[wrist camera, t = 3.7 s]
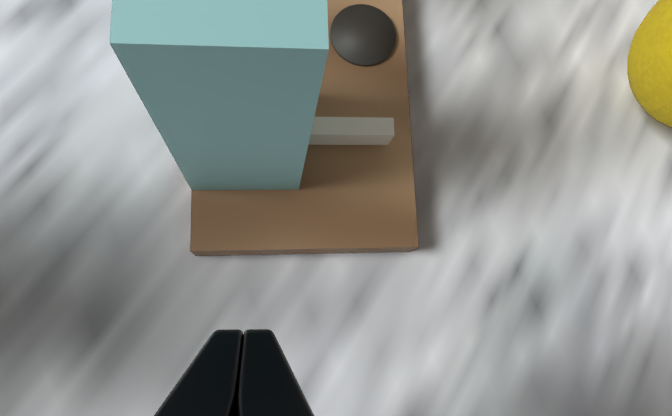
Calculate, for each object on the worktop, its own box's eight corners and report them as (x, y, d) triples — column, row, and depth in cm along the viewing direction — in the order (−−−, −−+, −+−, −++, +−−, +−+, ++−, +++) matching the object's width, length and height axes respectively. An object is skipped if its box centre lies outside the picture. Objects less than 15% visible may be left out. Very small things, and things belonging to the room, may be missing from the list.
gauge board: (409, 251, 20) (419, 246, 18) (195, 255, 19) (189, 250, 17) (389, -76, 22) (396, -100, 21) (202, -86, 21) (197, -113, 20)
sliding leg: (387, 189, 19) (503, 54, 9) (192, 190, 18) (109, 42, 9) (382, 93, 19) (484, -118, 10) (193, 90, 19) (120, -143, 9)
